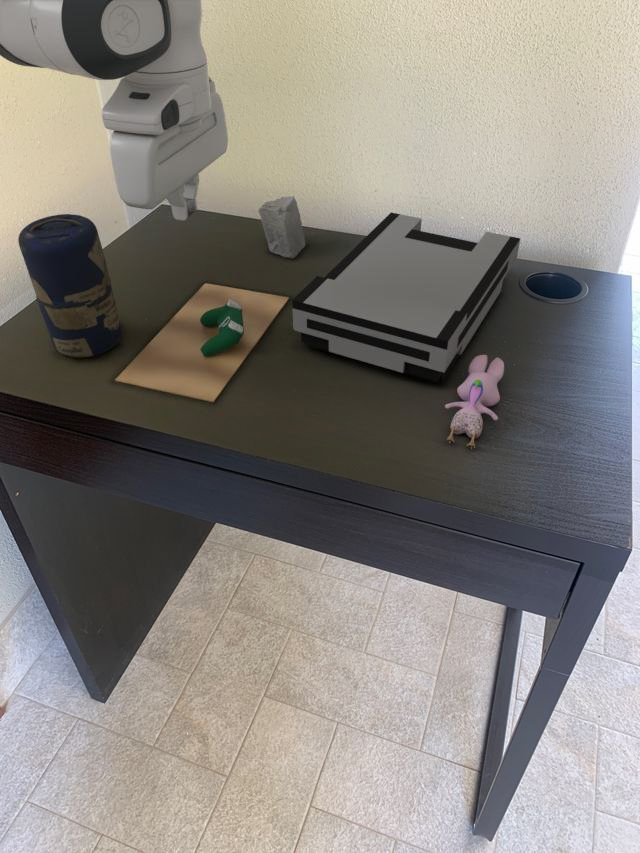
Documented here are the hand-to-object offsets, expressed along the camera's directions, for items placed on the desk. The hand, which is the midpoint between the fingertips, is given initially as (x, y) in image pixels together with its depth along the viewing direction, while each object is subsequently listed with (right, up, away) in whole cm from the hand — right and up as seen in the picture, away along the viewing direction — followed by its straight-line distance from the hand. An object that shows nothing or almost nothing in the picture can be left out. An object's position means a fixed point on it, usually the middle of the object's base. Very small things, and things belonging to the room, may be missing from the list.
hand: (185, 215), depth 83 cm
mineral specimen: (+10, +4, +32) cm, 34 cm away
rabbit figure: (+35, -24, 0) cm, 42 cm away
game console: (+29, -10, +16) cm, 35 cm away
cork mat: (+1, -13, +13) cm, 18 cm away
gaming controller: (+3, -14, +12) cm, 18 cm away
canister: (-16, -14, +12) cm, 24 cm away
